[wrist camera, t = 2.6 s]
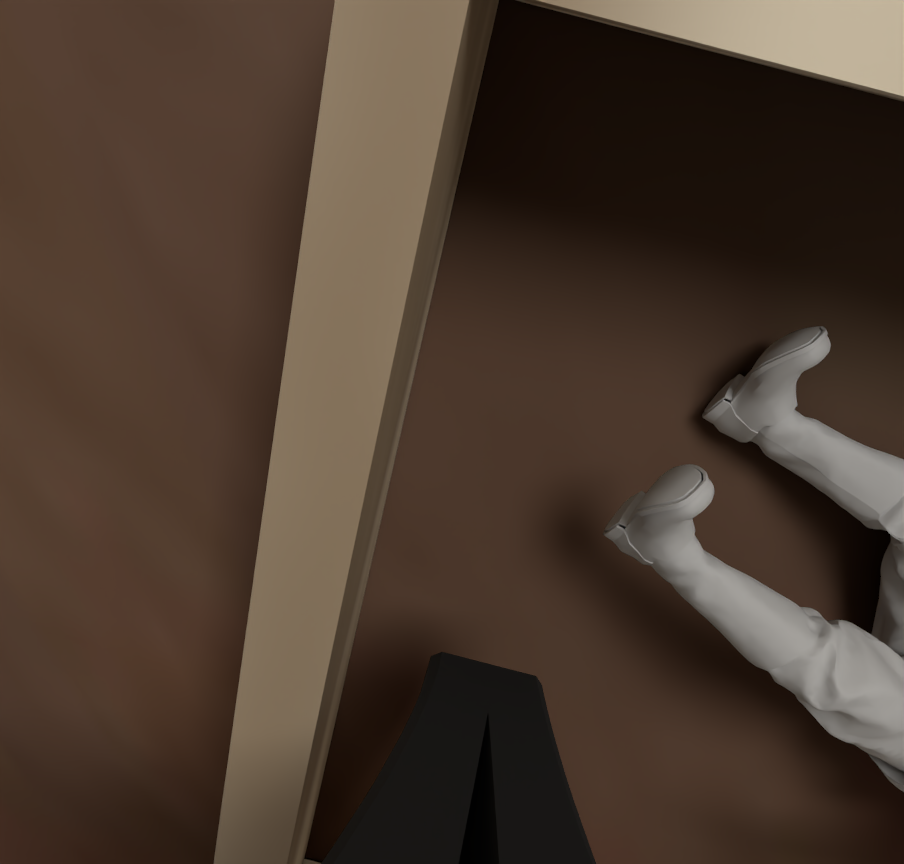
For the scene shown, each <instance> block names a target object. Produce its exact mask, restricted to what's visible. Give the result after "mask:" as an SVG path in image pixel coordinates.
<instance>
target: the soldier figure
mask: <svg viewBox="0 0 904 864" xmlns="http://www.w3.org/2000/svg"><path fill="white" fill-rule="evenodd" d="M827 334H828V333H827V330H826V329H825V327H824V326H815V327H809V328H804V329H800V330H797V331H794V332H792V333H790V334H788V335H786V336H784V337H782V338H781V339H779V340H777V341H775V342H774V343H773V344H771V345H770V346H769V347H768V348H767V349H766V350H765V351H764V352H763V353H762V355H761V356H760V357H759V358H758V360H757V361H756V363H755V364H754V366H753V368H752V369H751V370H750V372H749V373H748V374H747V375H746V376H745V377H744V376H742V375H741V374H738V375H737V376H736V377H734V378H733V379H732V380H730V381H729V382H728V383H727V384H726V385H725V386H724V387H723V388H722V389H721V390H720V391H719V392H718V393H717V394H716V396H715V397H714V398H713V399H712V400H711V402H710V403H709V404H708V406H707V407H706V408H705V410H704V413H703V414H702V417H703V418H704V419H706V420H707V421H709V422H710V423H713V424H714V425H715V427H716V428H717V429H718V430H719V432H721V433H723V434H725V435H727V436H730V437H732V438H733V439H735V440H737V441H739V442H745V443H746V442H749V441H752V442H754V443H756V444H757V445H758V446H760V448H761V450H762V452H763V453H764V454H765V455H766V456H767V457H769V458H770V459H772V460H774V461H775V462H777V463H779V464H780V465H782V466H783V467H785V468H787V469H788V470H790V471H791V472H793V473H795V474H796V475H798V476H799V477H801V478H803V479H804V480H806V481H807V482H809V483H810V484H811V485H813V486H814V487H815V488H817V489H818V490H819V491H821V492H823V493H824V494H826V495H827V496H828V497H830V498H831V499H832V500H833V501H834V502H836V503H837V504H838V505H839V506H840V507H842V508H843V509H845V510H846V511H848V512H849V513H850V514H851V515H852V516H854V517H855V518H857V519H858V520H859V521H861V523H862V524H863V525H865V526H866V527H868V528H871V529H882V530H885V531H888V533H889V534H890V538H891V542H890V544H889V546H888V548H887V550H886V552H885V554H884V557H883V560H882V564H881V571H880V572H881V581H880V590H879V601H878V604H877V609H876V614H875V619H874V624H873V630H872V634H869V633H868V632H866V631H865V630H863V629H861V628H860V627H858V626H856V625H854V624H853V623H851V622H848V621H844V620H830V621H826V620H825V619H824V618H823V617H822V616H821V614H820V613H819V612H818V611H816V610H814V609H812V608H807V607H799V606H798V605H797V604H795V603H794V602H792V601H791V600H789V599H787V598H786V597H784V596H782V595H780V594H779V593H777V592H775V591H773V590H772V589H770V588H768V587H767V586H765V585H763V584H762V583H760V582H759V581H757V580H755V579H754V578H752V577H750V576H748V575H746V574H744V573H742V572H740V571H738V570H736V569H734V568H732V567H730V566H728V565H727V564H725V563H723V562H722V561H720V560H719V559H717V558H716V557H714V556H713V555H711V554H709V553H708V552H706V551H704V550H703V549H702V547H701V545H700V543H699V541H698V540H697V538H696V537H695V535H694V534H695V528H694V524H693V519H692V518H694V517H695V516H696V515H698V514H699V513H701V512H702V511H703V510H704V509H705V508H706V507H707V506H708V505H709V504H710V503H711V501H712V499H713V496H714V486H713V484H712V482H711V481H710V480H709V479H708V475H707V473H706V472H705V471H704V470H703V469H702V468H701V467H699V466H696V465H692V464H687V465H681V466H677V467H673V468H672V469H670V470H669V471H667V472H666V473H664V474H663V475H662V476H660V478H659V479H658V480H657V481H656V482H655V483H654V484H653V485H652V487H651V488H650V489H649V491H648V492H647V493H644V492H643V491H640V492H639V493H637V494H636V495H634V496H632V497H631V498H629V499H628V500H627V501H626V502H624V504H623V505H622V506H621V507H620V509H619V510H618V511H617V513H616V514H615V515H614V516H613V518H612V519H611V520H610V521H609V523H608V524H607V526H606V528H605V531H604V533H603V535H604V536H606V537H607V538H609V539H610V540H612V541H613V542H614V543H615V544H616V545H617V547H618V548H619V549H620V551H621V552H623V553H625V554H627V555H630V556H632V557H634V558H635V559H636V560H638V561H639V562H640V563H642V564H645V565H651V566H652V567H653V568H654V570H655V571H656V572H657V573H658V574H659V575H660V576H661V577H662V578H663V579H664V580H666V581H667V582H669V583H671V584H672V586H673V587H674V589H675V590H676V591H677V592H678V593H679V594H680V595H681V596H682V597H683V598H684V599H685V600H686V601H687V602H689V603H690V604H691V605H692V606H693V607H694V608H695V609H696V610H697V611H698V612H699V613H700V614H701V615H703V616H704V617H705V618H706V619H707V620H708V621H709V622H710V623H711V624H712V625H713V626H714V627H715V628H716V629H718V630H719V631H720V632H721V633H722V634H723V635H724V637H725V638H726V639H727V640H728V641H729V642H730V643H731V644H732V645H733V646H734V647H735V648H736V649H737V650H738V651H739V652H740V653H741V654H742V655H743V656H744V657H745V658H746V659H747V660H748V661H749V662H751V663H752V664H753V665H755V666H756V667H759V668H761V669H764V670H766V671H768V672H769V673H770V674H771V676H772V678H773V680H774V681H775V682H776V683H777V684H779V685H781V686H783V687H785V688H786V689H788V690H789V691H791V692H792V693H794V694H795V695H796V698H797V700H798V701H799V702H800V703H802V704H803V705H804V706H805V708H806V709H807V710H808V711H809V712H810V713H811V714H812V715H813V716H814V717H815V719H816V720H817V721H818V722H819V723H820V724H821V725H822V727H823V728H824V729H825V730H826V731H827V732H828V733H829V734H831V735H832V736H834V737H836V738H838V739H840V740H842V741H844V742H847V743H851V744H854V745H856V746H857V747H858V748H860V749H862V750H863V751H865V752H867V753H868V755H869V756H870V757H871V759H872V760H873V761H874V762H875V763H876V764H877V766H878V767H879V768H880V770H881V771H882V772H883V773H884V775H885V776H886V777H887V779H888V780H889V781H890V782H891V783H892V784H893V785H895V786H896V787H897V788H898V789H900V790H901V791H903V792H904V459H901V458H898V457H896V456H893V455H890V454H887V453H884V452H881V451H879V450H876V449H873V448H870V447H868V446H865V445H863V444H861V443H859V442H856V441H854V440H852V439H850V438H848V437H846V436H844V435H843V434H841V433H839V432H837V431H835V430H834V429H832V428H830V427H829V426H827V425H825V424H823V423H821V422H820V421H818V420H816V419H813V418H808V417H804V416H803V415H801V414H800V413H799V412H797V411H796V410H795V407H796V406H797V399H796V382H797V380H798V378H799V376H800V375H801V373H802V372H804V371H805V370H807V369H810V368H812V367H813V366H815V365H817V364H818V363H820V362H821V361H822V360H823V359H824V358H825V356H826V355H827V354H828V353H829V351H830V347H831V343H830V340H829V338H828V336H827ZM725 398H726V399H728V400H727V401H725V400H724V399H725Z"/></svg>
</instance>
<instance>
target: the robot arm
mask: <svg viewBox="0 0 904 864" xmlns="http://www.w3.org/2000/svg"><path fill="white" fill-rule="evenodd" d="M321 864H596V862H595V859H594V857H593V854H592V851H591V848H590V846H589V843H588V840H587V837H586V834H585V831H584V829H583V826H582V823H581V820H580V817H579V814H578V812H577V809H576V806H575V803H574V800H573V797H572V794H571V791H570V788H569V785H568V782H567V778H566V775H565V772H564V768H563V765H562V762H561V758H560V755H559V752H558V748H557V745H556V741H555V738H554V734H553V730H552V727H551V723H550V719H549V715H548V711H547V707H546V702H545V698H544V693H543V689H542V685H541V683H540V682H539V680H538V678H537V677H536V676H533V675H530V674H526V673H522V672H518V671H514V670H510V669H506V668H502V667H499V666H495V665H491V664H487V663H483V662H479V661H475V660H471V659H467V658H464V657H460V656H456V655H452V654H448V653H444V652H440V653H438V654H436V655H433V656H431V658H430V662H429V665H428V668H427V672H426V675H425V679H424V682H423V686H422V689H421V692H420V695H419V698H418V700H417V702H416V705H415V707H414V709H413V711H412V713H411V715H410V718H409V720H408V722H407V724H406V726H405V728H404V730H403V732H402V734H401V736H400V738H399V740H398V741H397V743H396V745H395V747H394V748H393V750H392V752H391V754H390V756H389V757H388V759H387V761H386V763H385V764H384V766H383V768H382V770H381V772H380V773H379V775H378V777H377V779H376V780H375V782H374V784H373V786H372V787H371V789H370V790H369V792H368V794H367V795H366V797H365V798H364V800H363V801H362V803H361V804H360V806H359V808H358V809H357V811H356V812H355V814H354V815H353V817H352V818H351V820H350V821H349V823H348V824H347V826H346V827H345V829H344V830H343V832H342V833H341V835H340V836H339V838H338V840H337V841H336V843H335V844H334V846H333V847H332V849H331V850H330V851H329V853H328V854H327V856H326V857H325V859H324V860H323V861H322V863H321Z"/></svg>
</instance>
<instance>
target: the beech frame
mask: <svg viewBox="0 0 904 864" xmlns="http://www.w3.org/2000/svg"><path fill="white" fill-rule="evenodd" d="M516 1H520V2H524V3H528V4H532V5H536V6H539V7H543V8H547V9H551V10H555V11H558V12H562V13H566V14H570V15H574V16H578V17H581V18H585V19H589V20H593V21H597V22H601V23H604V24H608V25H612V26H616V27H620V28H623V29H627V30H631V31H635V32H639V33H643V34H646V35H650V36H654V37H658V38H662V39H666V40H669V41H673V42H677V43H681V44H685V45H689V46H692V47H696V48H700V49H704V50H708V51H711V52H715V53H719V54H723V55H727V56H731V57H734V58H738V59H742V60H746V61H750V62H754V63H757V64H761V65H765V66H769V67H773V68H776V69H780V70H784V71H788V72H792V73H796V74H799V75H803V76H807V77H811V78H815V79H819V80H822V81H826V82H830V83H834V84H838V85H841V86H845V87H849V88H853V89H857V90H861V91H864V92H868V93H872V94H876V95H880V96H884V97H887V98H891V99H895V100H899V101H903V102H904V0H516ZM498 3H499V0H335V4H334V11H333V18H332V25H331V32H330V40H329V47H328V54H327V61H326V68H325V75H324V82H323V89H322V96H321V103H320V111H319V118H318V125H317V132H316V139H315V146H314V153H313V160H312V167H311V175H310V182H309V189H308V196H307V203H306V210H305V217H304V224H303V231H302V238H301V246H300V253H299V260H298V267H297V274H296V281H295V288H294V295H293V302H292V309H291V317H290V324H289V331H288V338H287V345H286V352H285V359H284V366H283V373H282V381H281V388H280V395H279V402H278V409H277V416H276V423H275V430H274V437H273V444H272V452H271V459H270V466H269V473H268V480H267V487H266V494H265V501H264V508H263V515H262V523H261V530H260V537H259V544H258V551H257V558H256V565H255V572H254V579H253V587H252V594H251V601H250V608H249V615H248V622H247V629H246V636H245V643H244V650H243V658H242V665H241V672H240V679H239V686H238V693H237V700H236V707H235V714H234V721H233V729H232V736H231V743H230V750H229V757H228V764H227V771H226V778H225V785H224V792H223V800H222V807H221V814H220V821H219V828H218V835H217V842H216V849H215V856H214V864H321V863H319V862H315V861H311V860H307V859H304V858H305V853H306V849H307V845H308V840H309V836H310V831H311V827H312V823H313V818H314V814H315V809H316V805H317V801H318V796H319V792H320V787H321V783H322V779H323V774H324V770H325V765H326V761H327V757H328V752H329V748H330V743H331V739H332V734H333V730H334V726H335V721H336V717H337V712H338V708H339V704H340V699H341V695H342V690H343V686H344V682H345V677H346V673H347V668H348V664H349V660H350V655H351V651H352V646H353V642H354V638H355V633H356V629H357V624H358V620H359V615H360V611H361V607H362V602H363V598H364V593H365V589H366V585H367V580H368V576H369V571H370V567H371V563H372V558H373V554H374V549H375V545H376V541H377V536H378V532H379V527H380V523H381V518H382V514H383V510H384V505H385V501H386V496H387V492H388V488H389V483H390V479H391V474H392V470H393V466H394V461H395V457H396V452H397V448H398V444H399V439H400V435H401V430H402V426H403V422H404V417H405V413H406V408H407V404H408V399H409V395H410V391H411V386H412V382H413V377H414V373H415V369H416V364H417V360H418V355H419V351H420V347H421V342H422V338H423V333H424V329H425V325H426V320H427V316H428V311H429V307H430V303H431V298H432V294H433V289H434V285H435V280H436V276H437V272H438V267H439V263H440V258H441V254H442V250H443V245H444V241H445V236H446V232H447V228H448V223H449V219H450V214H451V210H452V206H453V201H454V197H455V192H456V188H457V184H458V179H459V175H460V170H461V166H462V161H463V157H464V153H465V148H466V144H467V139H468V135H469V131H470V126H471V122H472V117H473V113H474V109H475V104H476V100H477V95H478V91H479V87H480V82H481V78H482V73H483V69H484V64H485V60H486V56H487V51H488V47H489V42H490V38H491V34H492V29H493V25H494V20H495V16H496V12H497V7H498Z"/></svg>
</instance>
